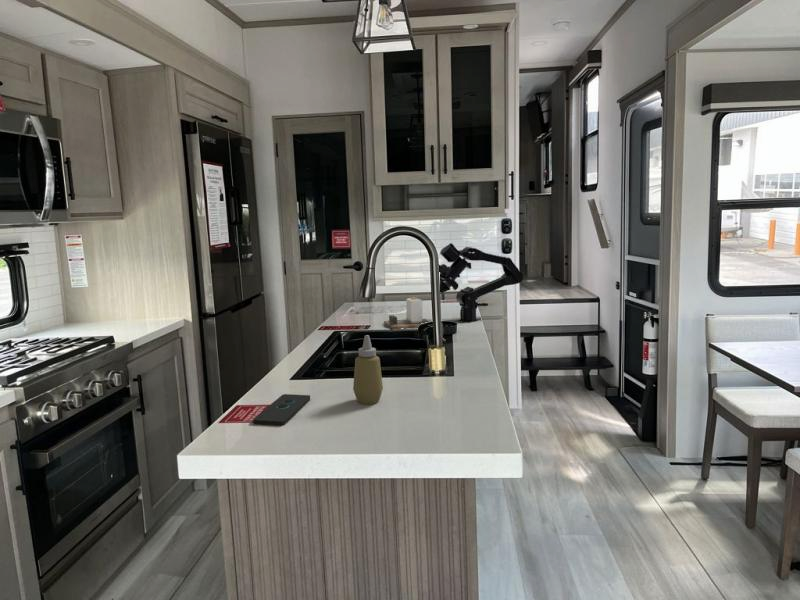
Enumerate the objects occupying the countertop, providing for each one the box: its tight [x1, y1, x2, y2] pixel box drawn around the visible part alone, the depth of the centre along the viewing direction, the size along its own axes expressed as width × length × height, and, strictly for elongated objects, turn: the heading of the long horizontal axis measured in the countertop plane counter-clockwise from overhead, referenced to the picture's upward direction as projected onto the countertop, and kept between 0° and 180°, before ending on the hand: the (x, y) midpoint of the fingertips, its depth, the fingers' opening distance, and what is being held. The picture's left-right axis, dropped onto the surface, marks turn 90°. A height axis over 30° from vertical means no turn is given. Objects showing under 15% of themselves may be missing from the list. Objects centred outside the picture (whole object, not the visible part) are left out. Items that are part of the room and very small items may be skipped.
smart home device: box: [252, 393, 311, 427], centre depth 149 cm, size 8×2×20 cm
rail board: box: [383, 314, 430, 330], centre depth 255 cm, size 18×14×4 cm
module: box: [405, 296, 423, 323], centre depth 256 cm, size 5×7×11 cm
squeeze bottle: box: [352, 334, 384, 405], centre depth 154 cm, size 8×8×18 cm
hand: (432, 295), depth 257 cm, fingers closed
